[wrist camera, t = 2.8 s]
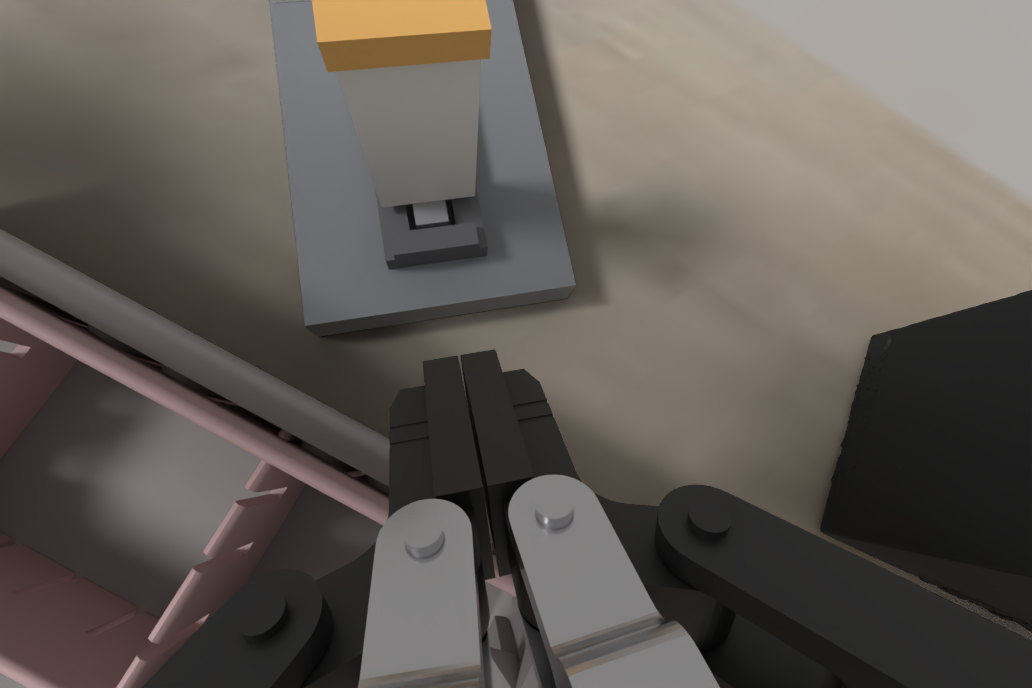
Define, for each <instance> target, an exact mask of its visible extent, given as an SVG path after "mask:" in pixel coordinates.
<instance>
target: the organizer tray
mask: <svg viewBox="0 0 1032 688" xmlns="http://www.w3.org/2000/svg"><path fill="white" fill-rule="evenodd" d="M389 440H390V439H388V438H387V437H385V436H383V435H381V434H379V433H377V432H375V431H374V430H372V429H370V428H368V427H366V426H364V425H363V424H361V423H359V422H357V421H355V420H353V419H351V418H350V417H348V416H346V415H344V414H342V413H340V412H338V411H337V410H335V409H333V408H331V407H329V406H327V405H326V404H324V403H322V402H320V401H318V400H316V399H314V398H313V397H311V396H309V395H307V394H305V393H303V392H301V391H300V390H298V389H296V388H294V387H292V386H290V385H289V384H287V383H285V382H283V381H281V380H279V379H277V378H276V377H274V376H272V375H270V374H268V373H266V372H264V371H263V370H261V369H259V368H257V367H255V366H253V365H252V364H250V363H248V362H246V361H244V360H242V359H240V358H239V357H237V356H235V355H233V354H231V353H229V352H227V351H226V350H224V349H222V348H220V347H218V346H216V345H215V344H213V343H211V342H209V341H207V340H205V339H203V338H202V337H200V336H198V335H196V334H194V333H192V332H190V331H189V330H187V329H185V328H183V327H181V326H179V325H178V324H176V323H174V322H172V321H170V320H168V319H166V318H165V317H163V316H161V315H159V314H157V313H155V312H153V311H152V310H150V309H148V308H146V307H144V306H142V305H141V304H139V303H137V302H135V301H133V300H131V299H129V298H128V297H126V296H124V295H122V294H120V293H118V292H116V291H115V290H113V289H111V288H109V287H107V286H105V285H104V284H102V283H100V282H98V281H96V280H94V279H92V278H91V277H89V276H87V275H85V274H83V273H81V272H79V271H78V270H76V269H74V268H72V267H70V266H68V265H67V264H65V263H63V262H61V261H59V260H57V259H55V258H54V257H52V256H50V255H48V254H46V253H44V252H42V251H41V250H39V249H37V248H35V247H33V246H31V245H30V244H28V243H26V242H24V241H22V240H20V239H18V238H17V237H15V236H13V235H11V234H9V233H7V232H5V231H4V230H2V229H0V688H142V687H143V686H144V685H145V684H146V683H147V682H148V681H149V680H150V679H151V677H152V676H153V675H154V674H155V673H156V672H157V671H158V670H159V669H160V668H161V667H162V666H163V665H164V664H165V663H166V662H167V661H168V660H169V659H170V658H171V657H172V656H173V655H174V654H175V653H176V652H177V651H178V650H179V649H180V648H181V647H182V646H183V645H184V644H185V643H186V642H187V641H188V640H189V639H190V637H191V636H192V635H193V634H194V633H195V632H196V631H197V630H198V629H199V628H200V627H201V626H202V625H203V624H204V623H205V622H206V621H207V620H208V619H209V618H210V617H211V616H212V615H213V614H214V613H215V612H216V611H217V610H218V609H219V608H220V607H221V606H222V605H223V604H224V603H225V602H226V601H227V600H228V598H229V597H231V596H232V595H233V594H234V593H235V592H236V591H237V590H238V589H240V588H241V587H242V586H244V585H245V584H246V583H248V582H250V581H251V580H253V579H255V578H257V577H259V576H261V575H263V574H266V573H269V572H272V571H276V570H282V569H294V570H300V571H302V572H305V573H307V574H309V575H310V576H311V577H313V578H314V580H315V581H316V580H318V579H319V578H321V577H323V576H325V575H327V574H329V573H331V572H333V571H335V570H337V569H339V568H341V567H343V566H345V565H347V564H348V563H350V562H352V561H354V560H355V559H357V558H358V557H360V556H361V555H362V554H364V553H365V552H366V551H367V550H368V549H369V548H370V547H371V546H372V545H373V544H374V543H375V542H376V541H377V537H378V534H379V532H380V530H381V528H382V527H383V525H384V523H385V522H386V521H387V519H388V514H389V448H390V444H389ZM485 505H486V504H485ZM486 512H487V510H486ZM487 520H488V515H487ZM488 527H489V534H490V541H491V549H492V556H493V563H494V570H495V577H496V578H493V579H489V580H485V584H486V590H487V597H488V603H489V610H490V619H489V625H488V629H489V640H490V652H491V665H492V677H493V688H539V686H538V683H537V679H536V676H535V673H534V669H533V666H532V662H531V659H530V655H529V652H528V648H527V645H526V642H525V638H524V635H523V631H522V628H521V624H520V620H519V615H518V605H517V597H516V593H515V588H514V583H513V579H512V574H510V575H505V576H501V577H499V573H498V567H497V562H496V557H495V552H494V546H493V541H492V536H491V531H490V525H489V520H488Z"/></svg>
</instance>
